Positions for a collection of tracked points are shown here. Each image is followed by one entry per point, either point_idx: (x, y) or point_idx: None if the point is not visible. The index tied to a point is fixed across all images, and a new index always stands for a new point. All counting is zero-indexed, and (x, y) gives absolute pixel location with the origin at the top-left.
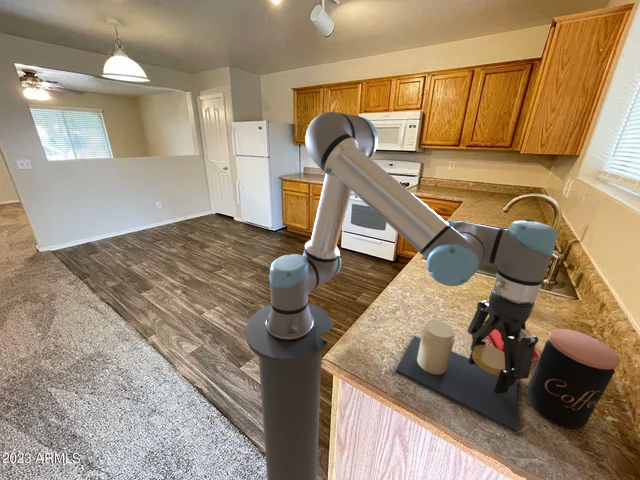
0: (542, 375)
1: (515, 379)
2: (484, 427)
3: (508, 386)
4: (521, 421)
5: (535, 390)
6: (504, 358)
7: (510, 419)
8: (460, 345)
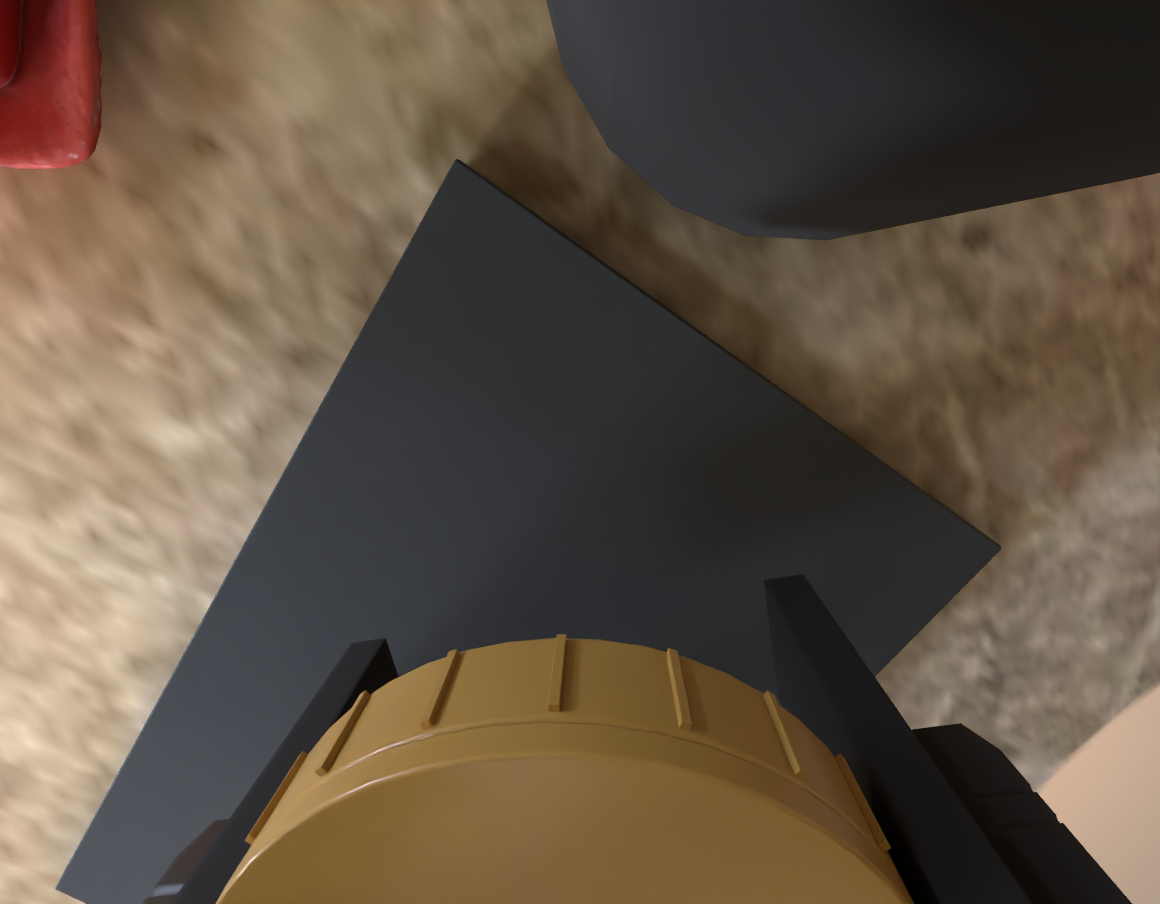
0: (1136, 144)
1: (1097, 864)
2: (916, 728)
3: (841, 639)
4: (907, 430)
5: (852, 219)
6: (618, 888)
7: (907, 537)
8: (47, 515)
